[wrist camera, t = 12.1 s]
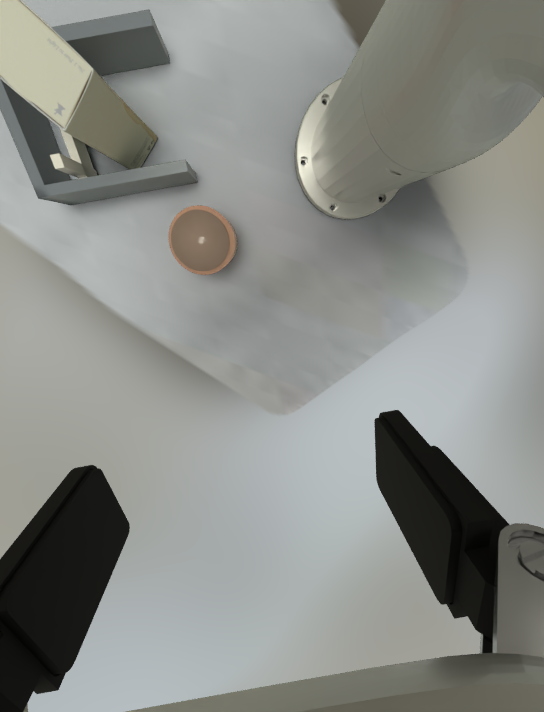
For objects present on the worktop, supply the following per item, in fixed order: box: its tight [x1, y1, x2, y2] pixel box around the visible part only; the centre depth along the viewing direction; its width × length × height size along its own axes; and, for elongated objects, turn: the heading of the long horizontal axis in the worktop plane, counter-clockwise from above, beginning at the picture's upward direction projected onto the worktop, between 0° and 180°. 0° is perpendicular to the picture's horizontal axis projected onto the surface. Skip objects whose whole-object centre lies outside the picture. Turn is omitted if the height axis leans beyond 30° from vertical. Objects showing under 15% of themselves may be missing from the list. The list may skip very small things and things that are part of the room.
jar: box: [169, 206, 237, 275], centre depth 29 cm, size 6×6×8 cm
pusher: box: [50, 128, 98, 179], centre depth 25 cm, size 1×8×6 cm, turn 9°
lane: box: [0, 10, 198, 205], centre depth 26 cm, size 14×11×5 cm
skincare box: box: [0, 0, 157, 170], centre depth 23 cm, size 6×4×12 cm
